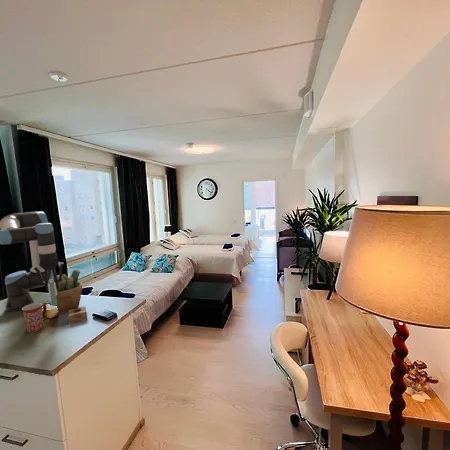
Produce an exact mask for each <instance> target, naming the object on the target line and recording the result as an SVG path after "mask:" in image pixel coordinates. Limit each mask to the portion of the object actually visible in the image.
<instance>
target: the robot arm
mask: <svg viewBox="0 0 450 450" xmlns="http://www.w3.org/2000/svg"><path fill="white" fill-rule="evenodd" d="M25 242H27V243H28V242H29V247H30V257H31V265H32V267H31V268H30V269H29V272H28V271H27V270H19V271H16V272H13V273H10V274H8V275H6V276H5V278H4V285H5V289H6V296H7V300H6V302H5V310H6V311H7V312H15V311H22V308H23V307H25V306H27V305H29V304H33V303H35V300H34V298H33V297H32V295H31V293H30V290H32V289H36V288H41V287H42V288H43V287H45V291H46V292H48V295H49V298H51V291H50V285H49V281H48V280H51V279H54V290H55V296H57V289H58V288H59V285H58V282H60V281H62V275H63V267H64V265H65V263H64V262H60V261H59V260H58V255H57V252H56V250H57V249H56V242H55V233H54V226H53V223H51V222H49V220H48V217H47V215H46V213H45V212H44V211H25V212H16V213H11V214H8V215H6V216H4V217H3V218H1V219H0V245H11V244H18V243H25ZM57 266H58V267H59V274H58V275H59V279H57V276H58V275H57V271H56V267H57Z"/></svg>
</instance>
